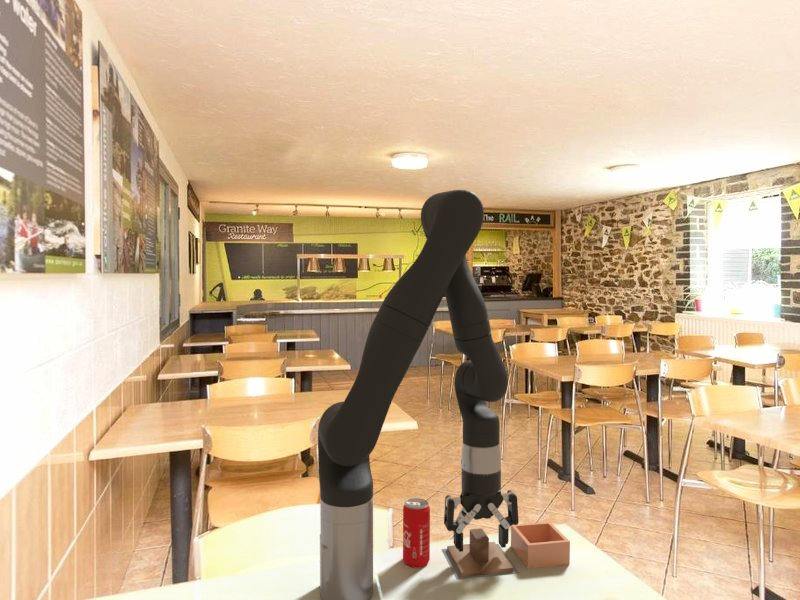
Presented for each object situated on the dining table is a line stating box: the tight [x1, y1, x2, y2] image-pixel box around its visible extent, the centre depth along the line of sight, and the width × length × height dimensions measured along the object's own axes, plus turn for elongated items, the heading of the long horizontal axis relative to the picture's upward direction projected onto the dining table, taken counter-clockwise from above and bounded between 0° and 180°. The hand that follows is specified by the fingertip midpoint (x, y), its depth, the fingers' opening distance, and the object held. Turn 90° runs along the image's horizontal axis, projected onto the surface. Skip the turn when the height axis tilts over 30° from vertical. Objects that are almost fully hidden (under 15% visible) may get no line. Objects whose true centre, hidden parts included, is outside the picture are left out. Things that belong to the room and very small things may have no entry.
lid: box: [446, 528, 513, 577], centre depth 106 cm, size 10×10×5 cm
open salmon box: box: [510, 521, 571, 569], centre depth 108 cm, size 8×8×5 cm
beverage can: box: [402, 497, 431, 569], centre depth 105 cm, size 5×5×12 cm
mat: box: [441, 543, 520, 580], centre depth 106 cm, size 12×11×1 cm
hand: (481, 547), depth 105 cm, fingers open, 8 cm apart
